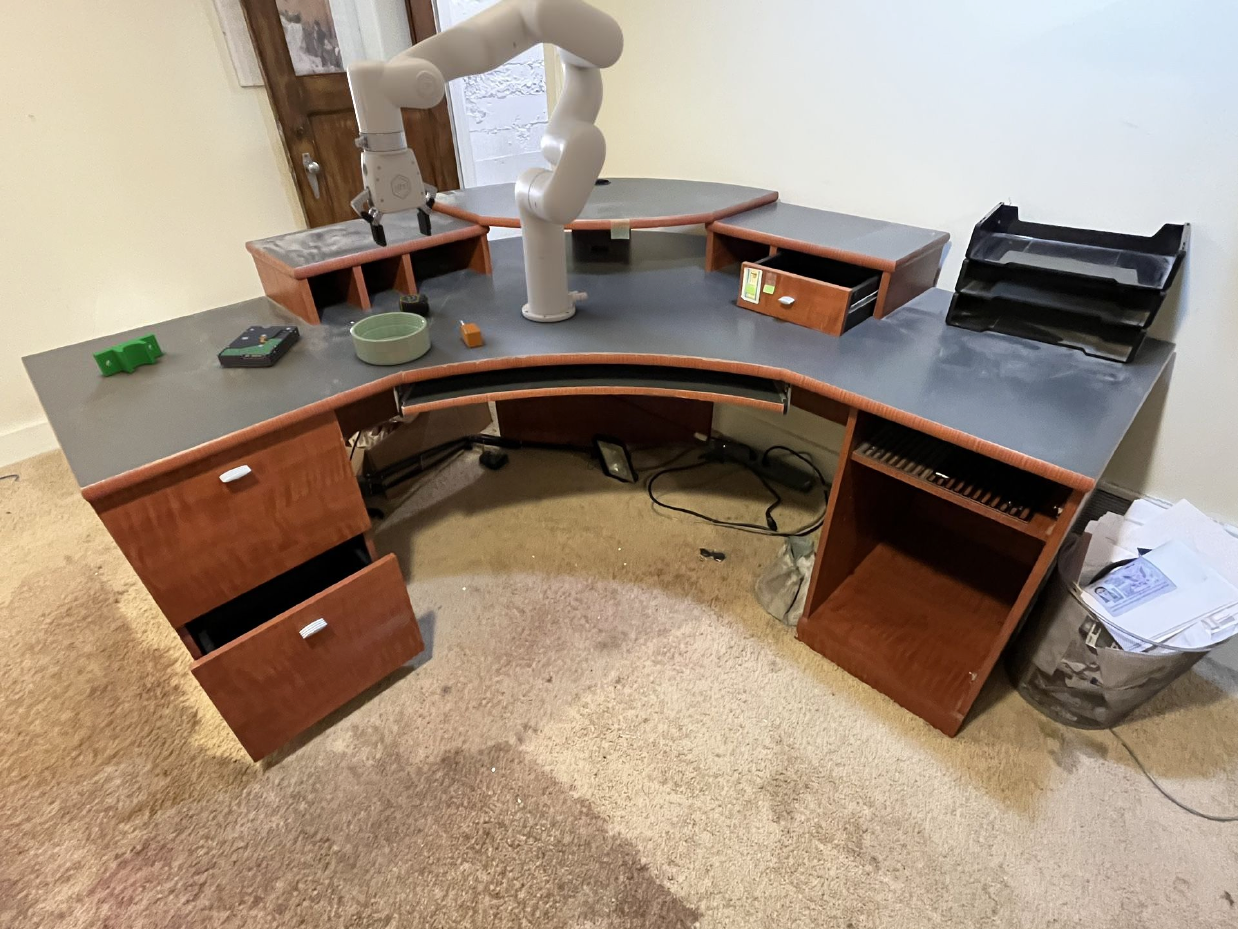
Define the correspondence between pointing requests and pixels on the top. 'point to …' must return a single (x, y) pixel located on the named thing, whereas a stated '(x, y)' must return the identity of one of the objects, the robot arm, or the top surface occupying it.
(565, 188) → the robot arm
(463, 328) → the orange block with pin
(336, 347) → the top surface
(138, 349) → the pipe clamp
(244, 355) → the disk drive
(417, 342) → the bowl
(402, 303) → the tape measure
